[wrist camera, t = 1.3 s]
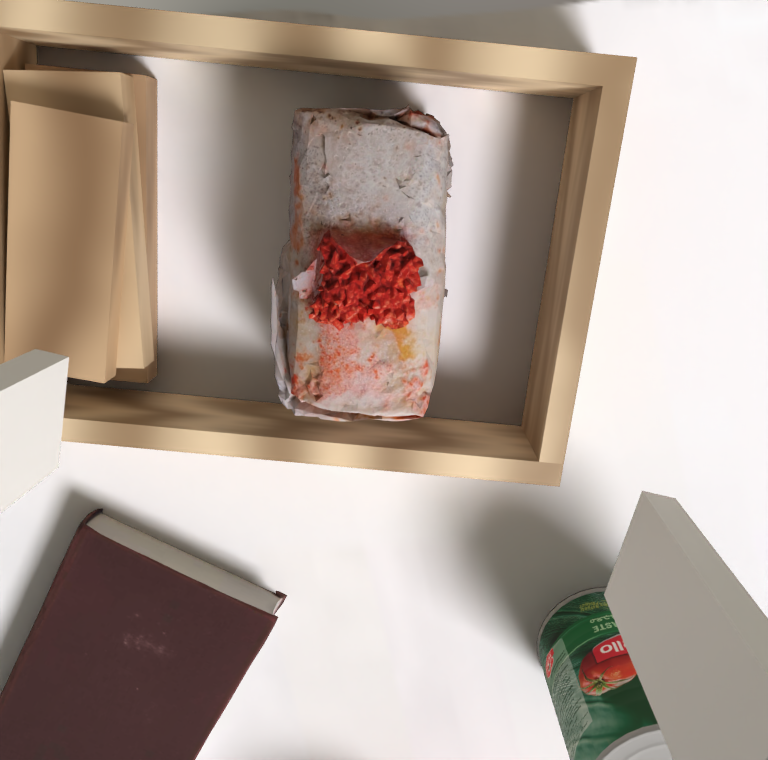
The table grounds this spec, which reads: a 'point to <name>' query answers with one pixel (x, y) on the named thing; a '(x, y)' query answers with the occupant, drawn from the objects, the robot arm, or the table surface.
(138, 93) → the offcut stack
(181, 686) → the book
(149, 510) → the table surface
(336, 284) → the food item
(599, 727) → the canned tomato
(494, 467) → the tray
